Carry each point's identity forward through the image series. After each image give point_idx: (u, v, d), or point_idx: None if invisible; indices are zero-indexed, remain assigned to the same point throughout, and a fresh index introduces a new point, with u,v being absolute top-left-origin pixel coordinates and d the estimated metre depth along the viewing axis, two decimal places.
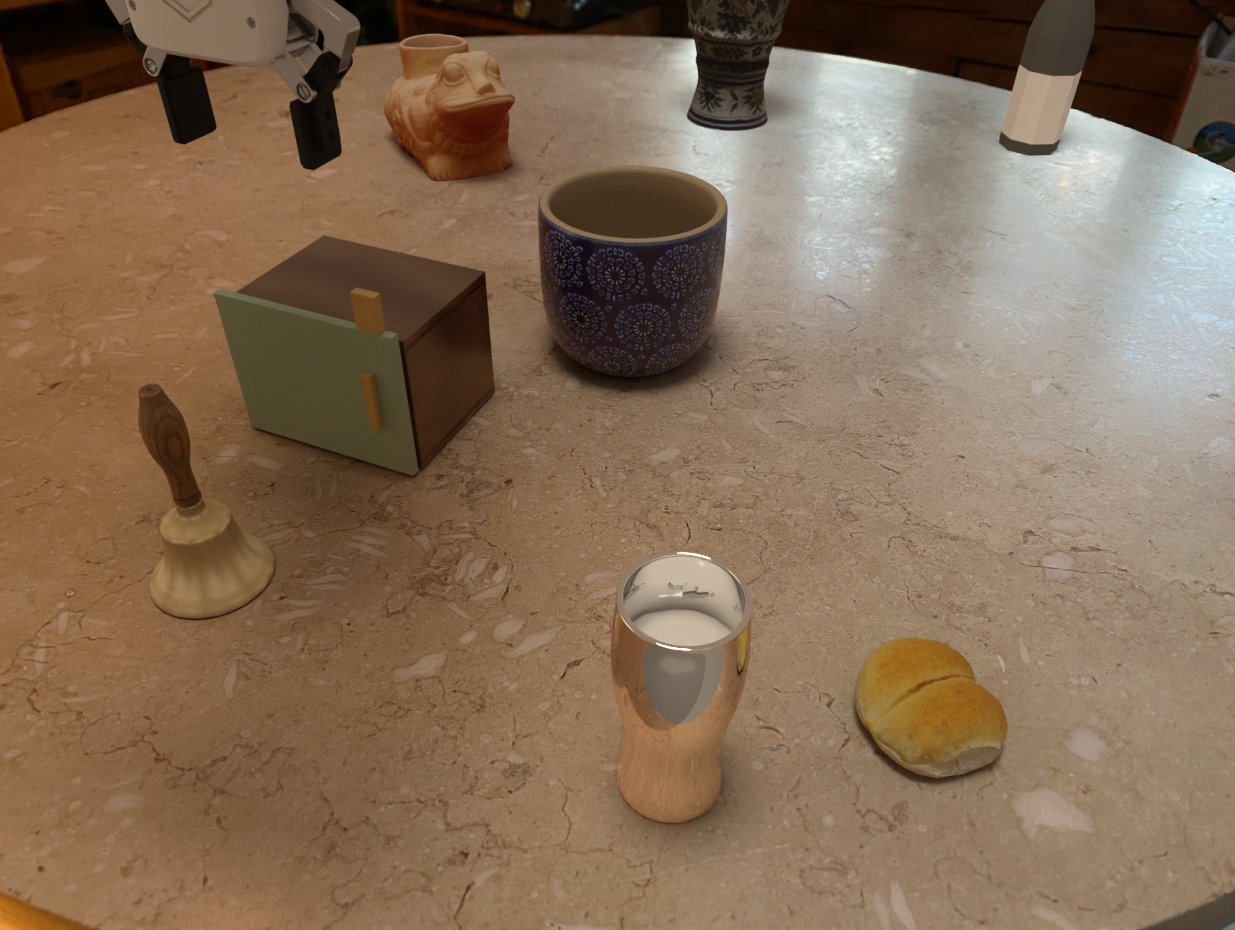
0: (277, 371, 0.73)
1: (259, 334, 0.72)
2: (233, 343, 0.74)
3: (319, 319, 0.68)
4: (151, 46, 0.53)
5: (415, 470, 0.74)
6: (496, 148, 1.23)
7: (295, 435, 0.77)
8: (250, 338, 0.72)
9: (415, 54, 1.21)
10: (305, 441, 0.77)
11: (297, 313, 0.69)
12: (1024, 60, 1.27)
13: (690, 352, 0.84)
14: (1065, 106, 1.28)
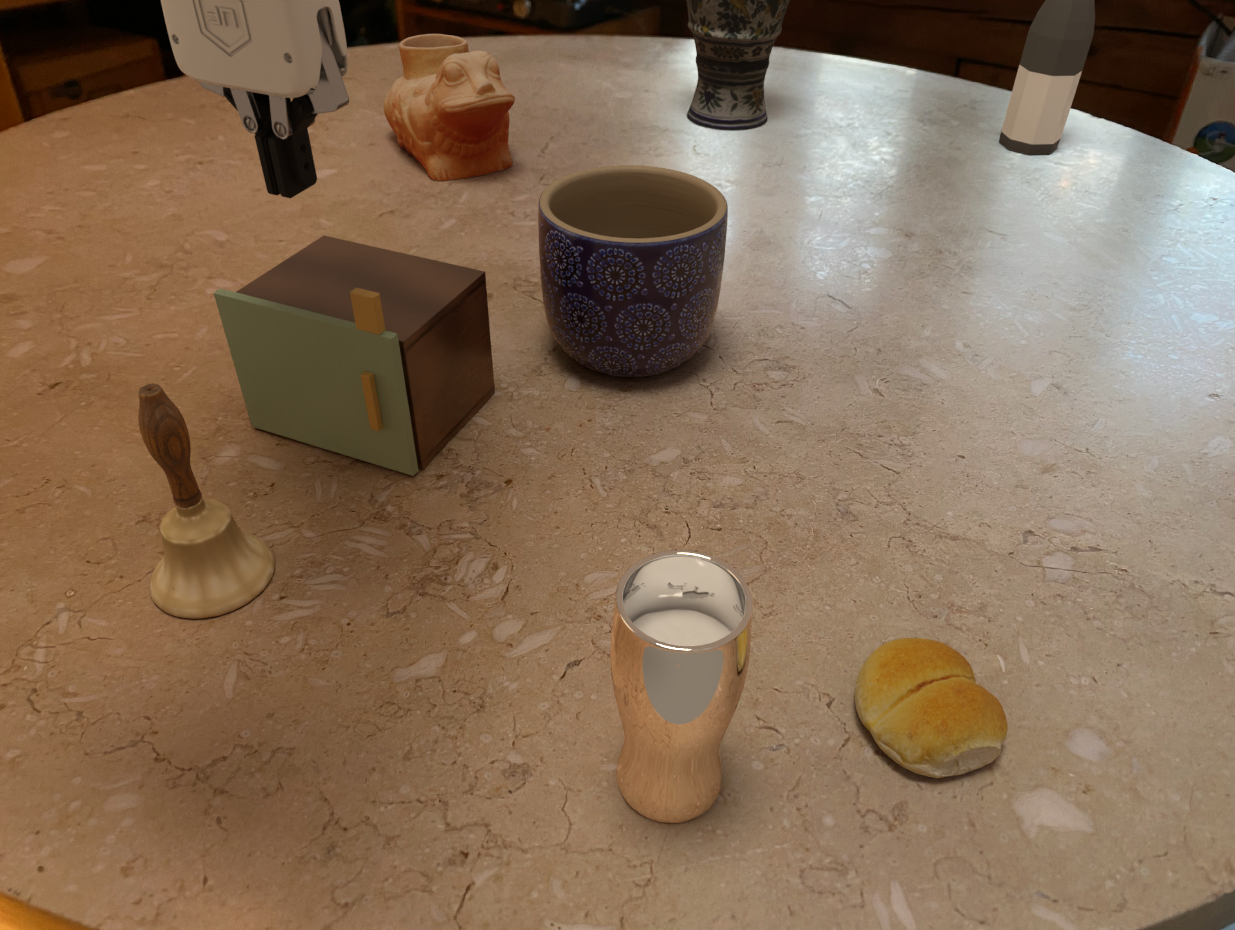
0: (277, 371, 0.73)
1: (259, 334, 0.72)
2: (233, 343, 0.74)
3: (319, 319, 0.68)
4: (192, 77, 0.57)
5: (415, 470, 0.74)
6: (496, 148, 1.23)
7: (295, 435, 0.77)
8: (250, 338, 0.72)
9: (415, 54, 1.21)
10: (305, 441, 0.77)
11: (297, 313, 0.69)
12: (1024, 60, 1.27)
13: (690, 352, 0.84)
14: (1065, 106, 1.28)
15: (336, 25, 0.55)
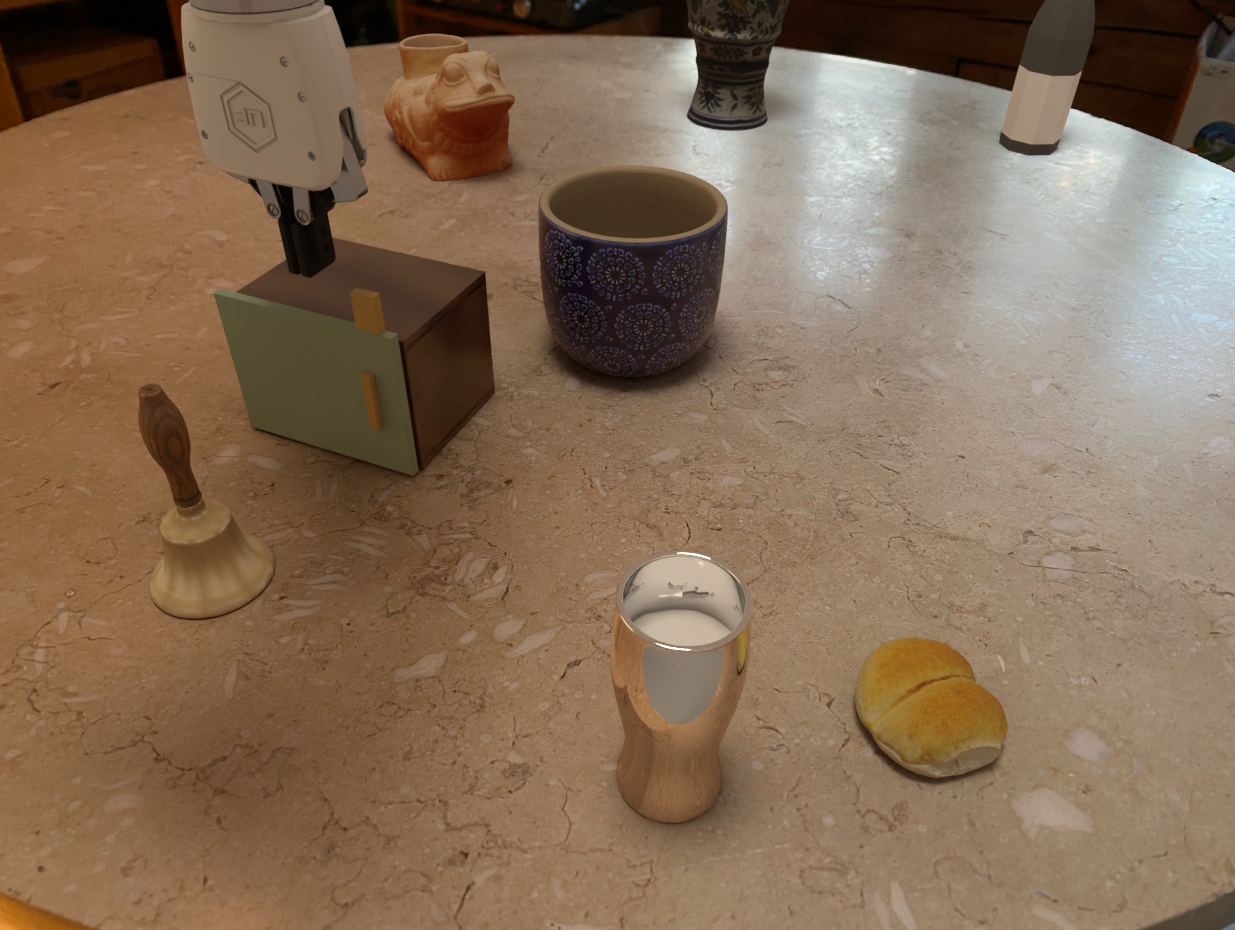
0: (277, 371, 0.73)
1: (259, 334, 0.72)
2: (233, 343, 0.74)
3: (319, 319, 0.68)
4: (220, 169, 0.60)
5: (415, 470, 0.74)
6: (496, 148, 1.23)
7: (295, 435, 0.77)
8: (250, 338, 0.72)
9: (415, 54, 1.21)
10: (305, 441, 0.77)
11: (297, 313, 0.69)
12: (1024, 60, 1.27)
13: (690, 352, 0.84)
14: (1065, 106, 1.28)
15: (356, 122, 0.59)
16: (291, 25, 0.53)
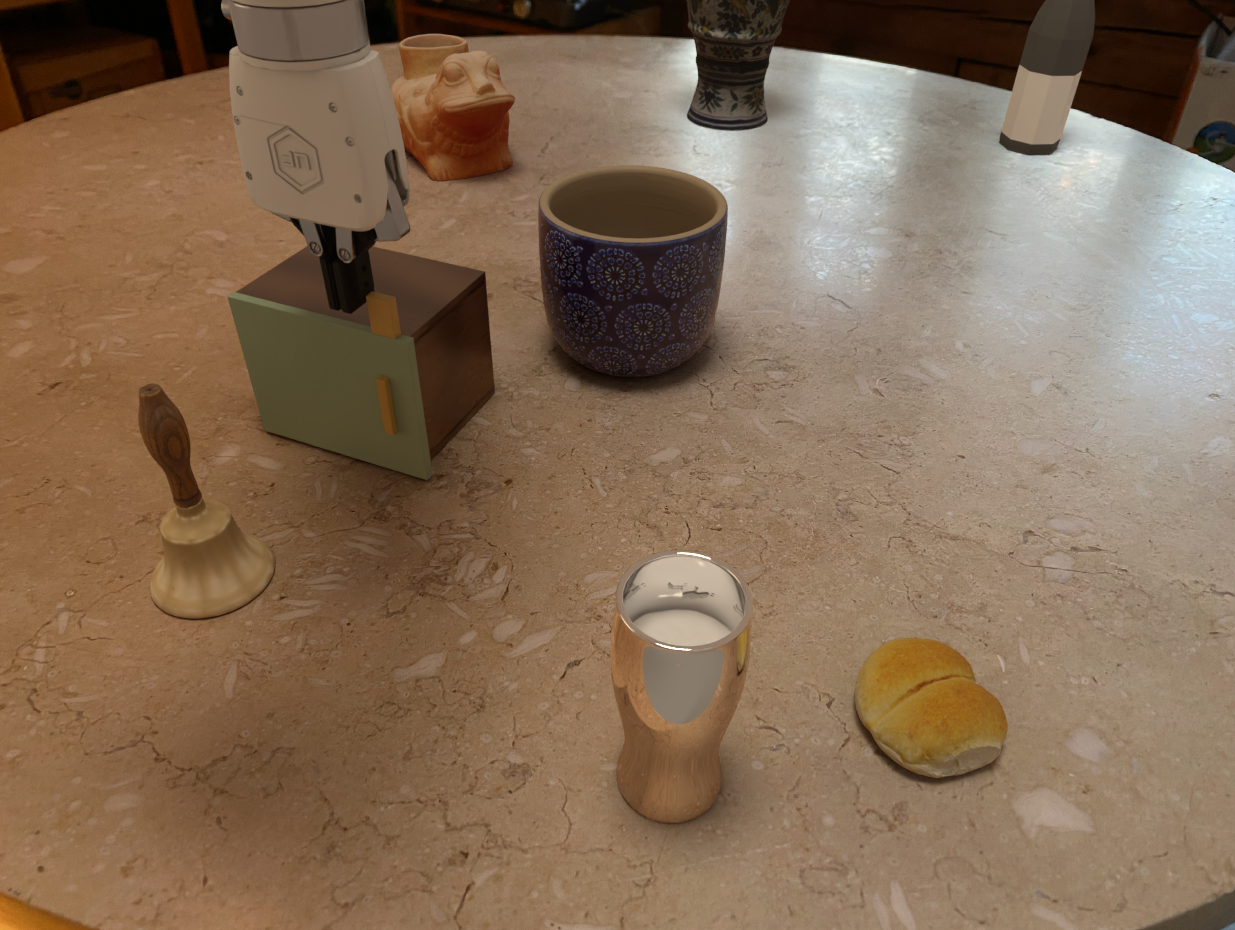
0: (291, 375, 0.73)
1: (273, 338, 0.71)
2: (247, 347, 0.73)
3: (334, 323, 0.68)
4: (263, 208, 0.61)
5: (430, 474, 0.74)
6: (496, 148, 1.23)
7: (308, 439, 0.77)
8: (264, 342, 0.72)
9: (415, 54, 1.21)
10: (318, 445, 0.77)
11: (312, 317, 0.68)
12: (1024, 60, 1.27)
13: (690, 352, 0.84)
14: (1065, 106, 1.28)
15: (400, 164, 0.59)
16: (340, 72, 0.53)
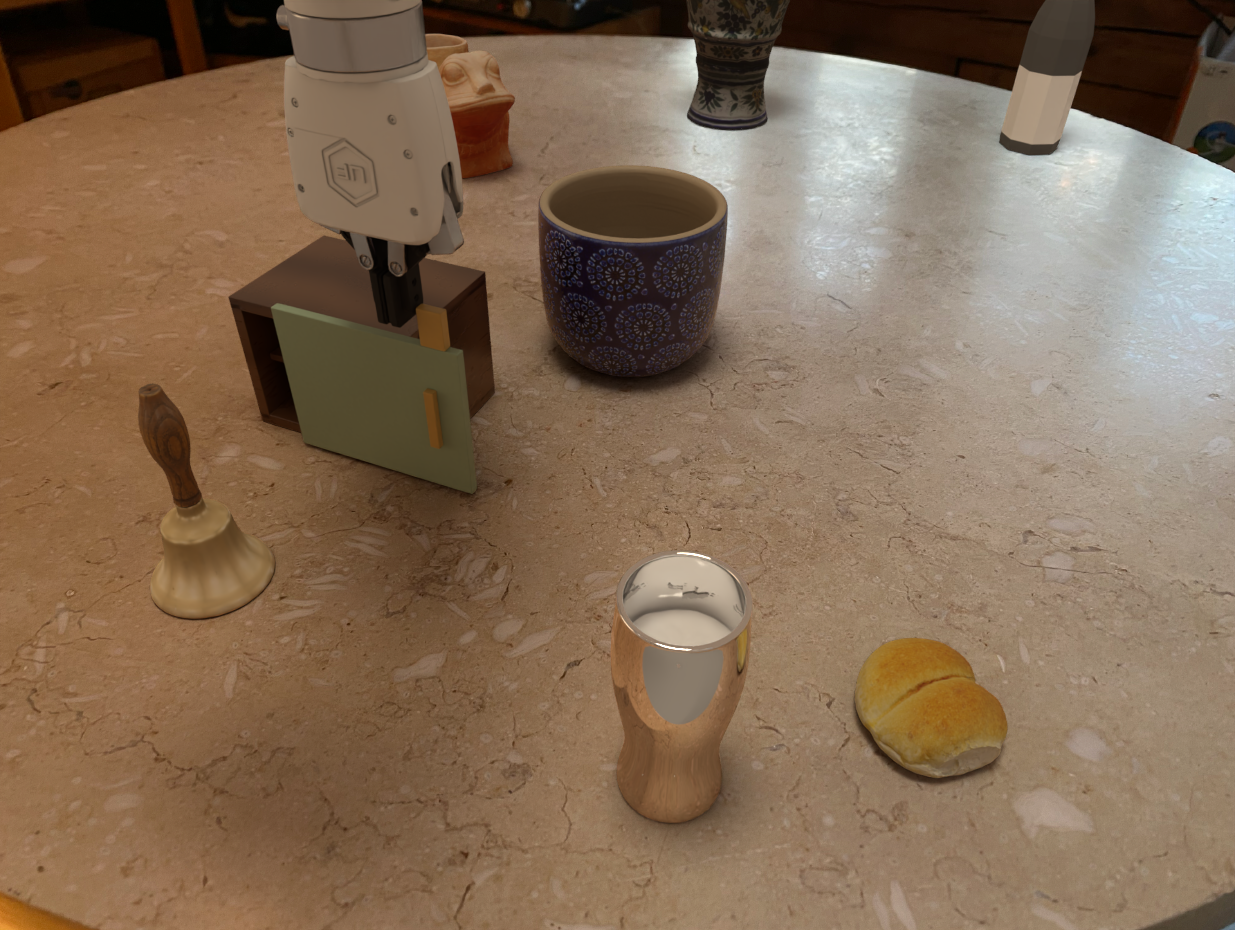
0: (334, 387, 0.72)
1: (317, 350, 0.70)
2: (289, 358, 0.72)
3: (381, 335, 0.67)
4: (315, 221, 0.60)
5: (474, 488, 0.73)
6: (496, 148, 1.23)
7: (349, 451, 0.76)
8: (307, 353, 0.71)
9: None
10: (360, 458, 0.76)
11: (358, 329, 0.67)
12: (1024, 60, 1.27)
13: (690, 352, 0.84)
14: (1065, 106, 1.28)
15: (456, 176, 0.58)
16: (401, 84, 0.52)
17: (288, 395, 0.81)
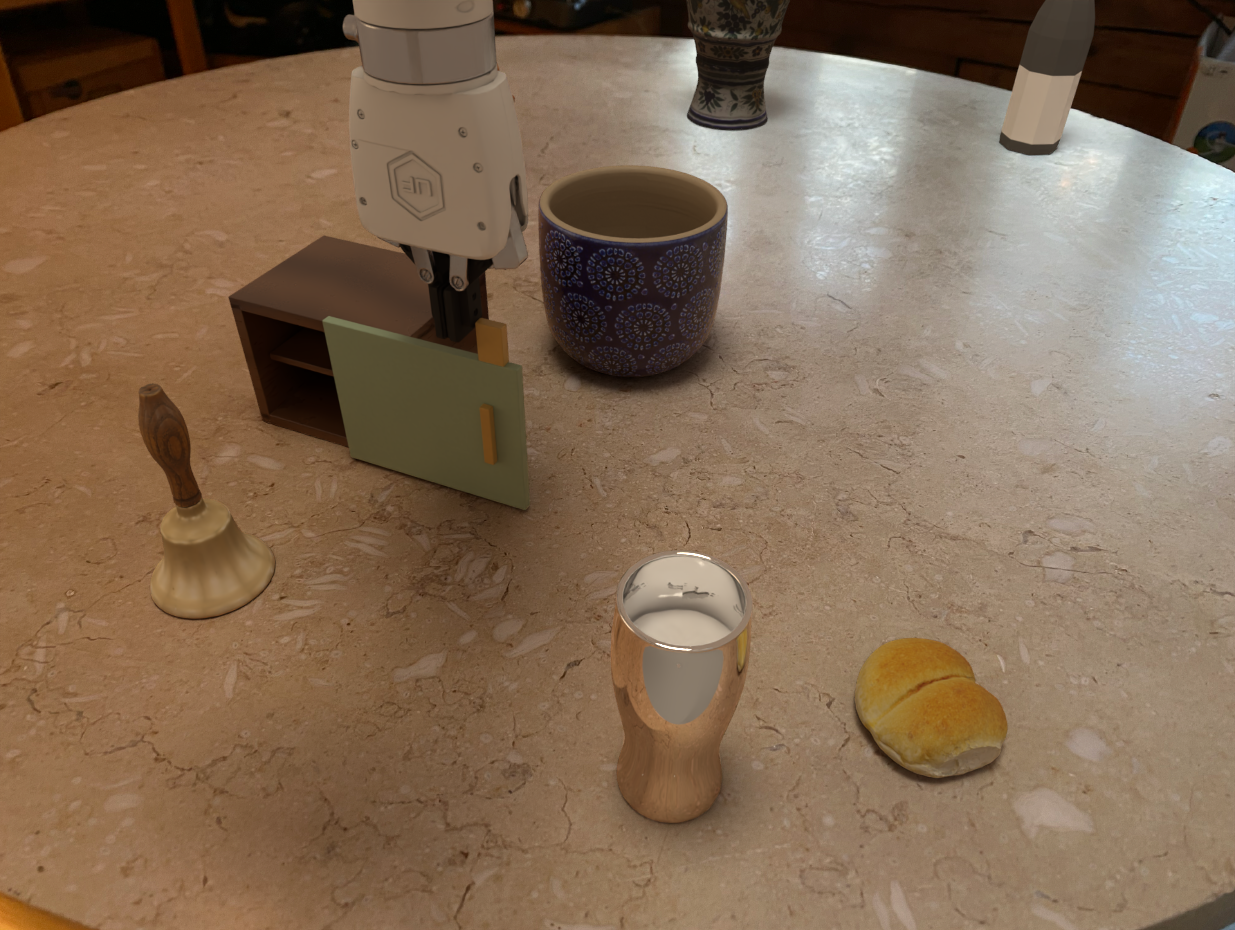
0: (385, 401, 0.70)
1: (369, 364, 0.69)
2: (339, 372, 0.71)
3: (438, 350, 0.65)
4: (376, 235, 0.58)
5: (528, 504, 0.71)
6: None
7: (398, 466, 0.74)
8: (358, 367, 0.69)
9: None
10: (409, 473, 0.74)
11: (413, 343, 0.66)
12: (1024, 60, 1.27)
13: (690, 352, 0.84)
14: (1065, 106, 1.28)
15: (522, 189, 0.57)
16: (473, 96, 0.51)
17: (288, 395, 0.81)
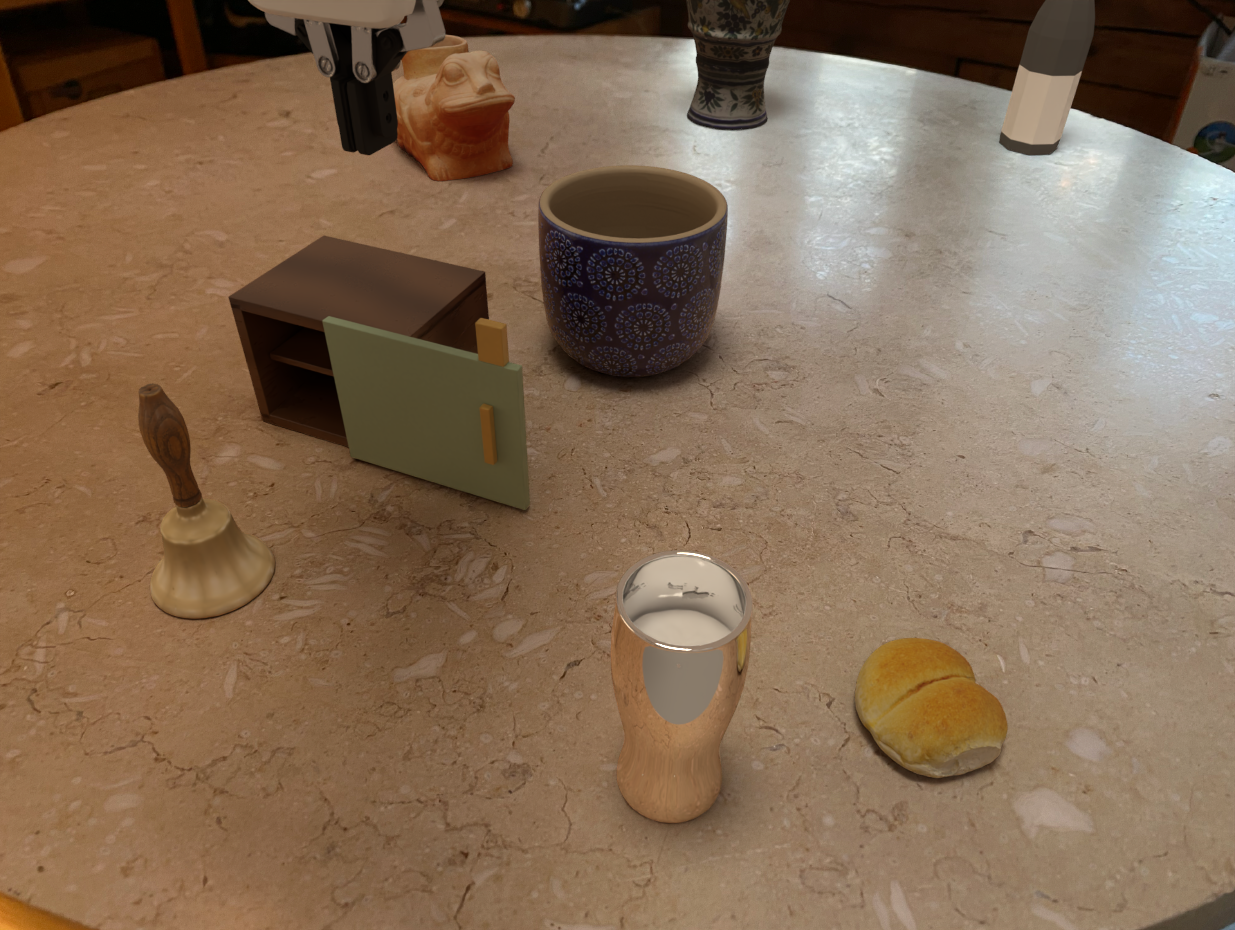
0: (385, 401, 0.70)
1: (369, 364, 0.69)
2: (339, 372, 0.71)
3: (438, 350, 0.65)
4: (261, 7, 0.48)
5: (528, 504, 0.71)
6: (496, 148, 1.23)
7: (398, 466, 0.74)
8: (358, 367, 0.69)
9: (415, 54, 1.21)
10: (409, 473, 0.74)
11: (413, 343, 0.66)
12: (1024, 60, 1.27)
13: (690, 352, 0.84)
14: (1065, 106, 1.28)
15: None
16: None
17: (288, 395, 0.81)
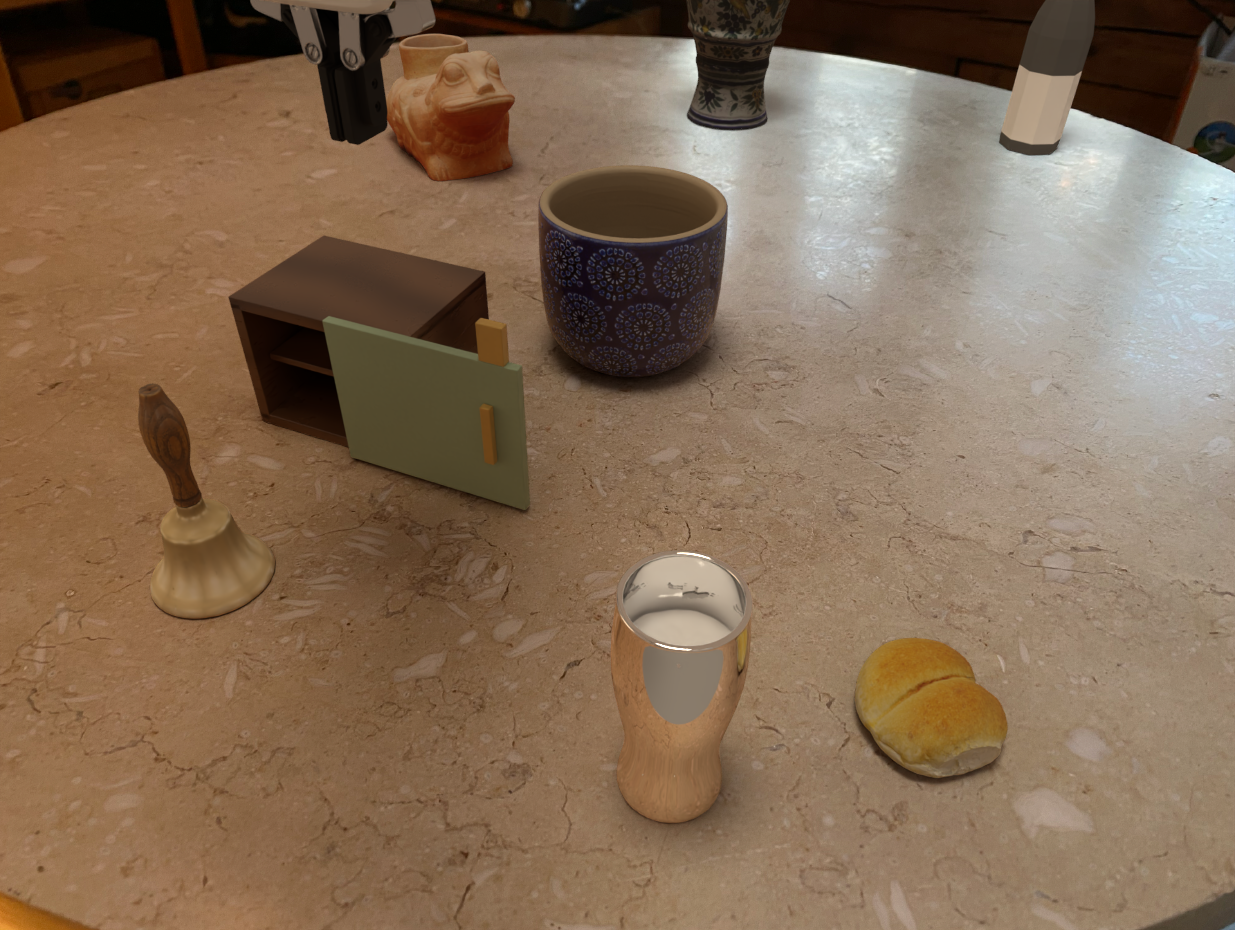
0: (385, 401, 0.70)
1: (369, 364, 0.69)
2: (339, 372, 0.71)
3: (438, 350, 0.65)
4: None
5: (528, 504, 0.71)
6: (496, 148, 1.23)
7: (398, 466, 0.74)
8: (358, 367, 0.69)
9: (415, 54, 1.21)
10: (409, 473, 0.74)
11: (413, 343, 0.66)
12: (1024, 60, 1.27)
13: (690, 352, 0.84)
14: (1065, 106, 1.28)
15: None
16: None
17: (288, 395, 0.81)
